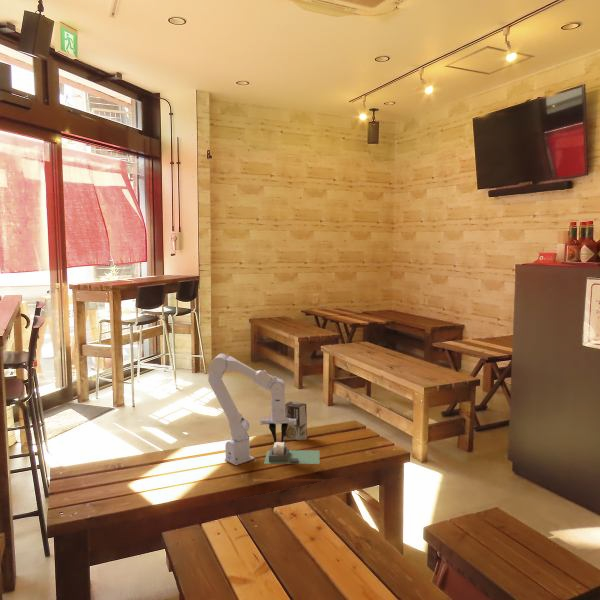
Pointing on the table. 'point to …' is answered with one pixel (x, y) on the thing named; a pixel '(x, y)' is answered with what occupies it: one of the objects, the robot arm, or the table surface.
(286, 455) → the board
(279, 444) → the plug
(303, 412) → the coffee box
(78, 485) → the table surface
